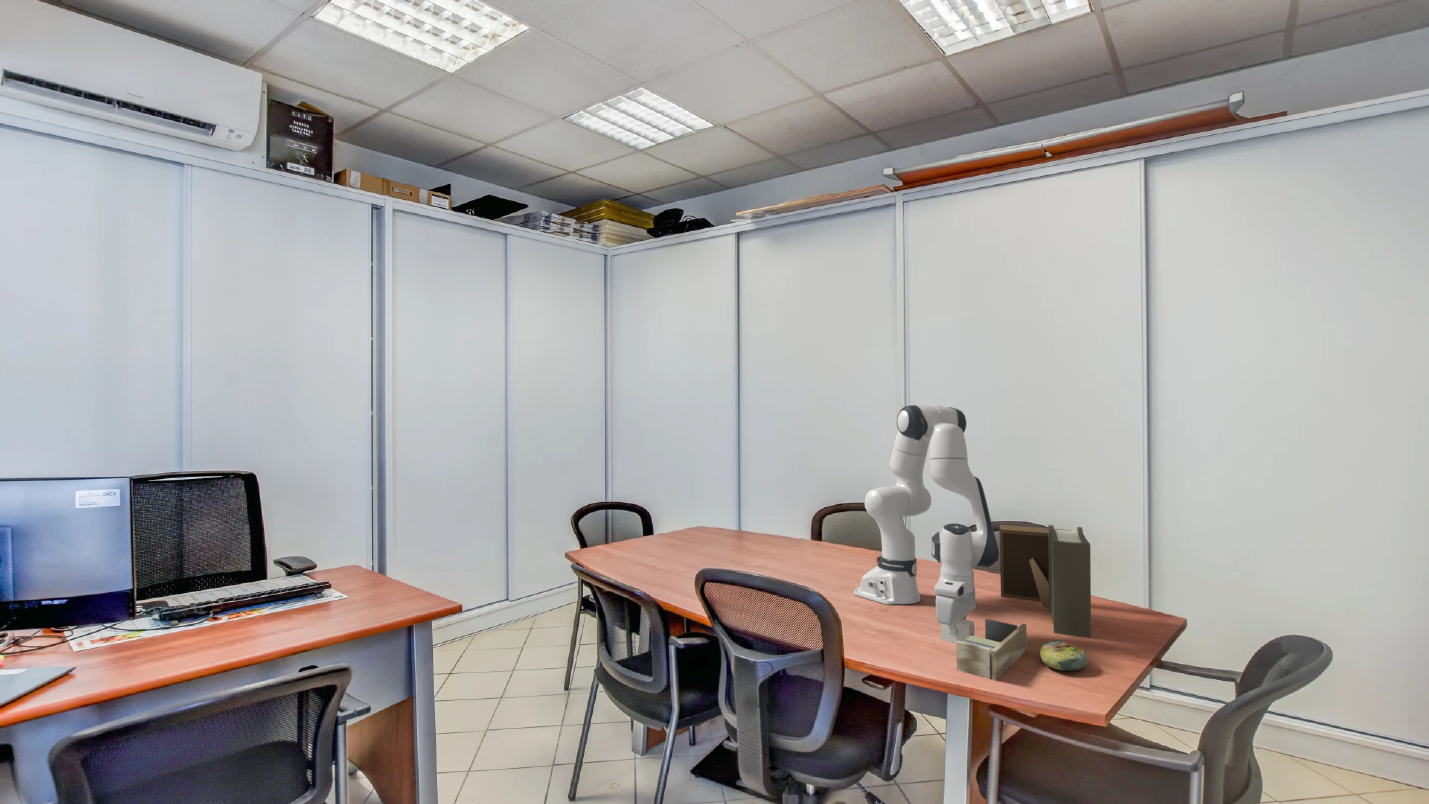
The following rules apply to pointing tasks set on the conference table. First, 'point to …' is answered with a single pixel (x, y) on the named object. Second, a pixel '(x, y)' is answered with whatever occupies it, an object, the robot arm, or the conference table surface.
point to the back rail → (1002, 655)
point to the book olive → (982, 641)
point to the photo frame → (1025, 563)
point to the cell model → (1063, 656)
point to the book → (1069, 582)
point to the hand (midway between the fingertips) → (957, 632)
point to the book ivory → (963, 631)
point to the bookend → (998, 630)
